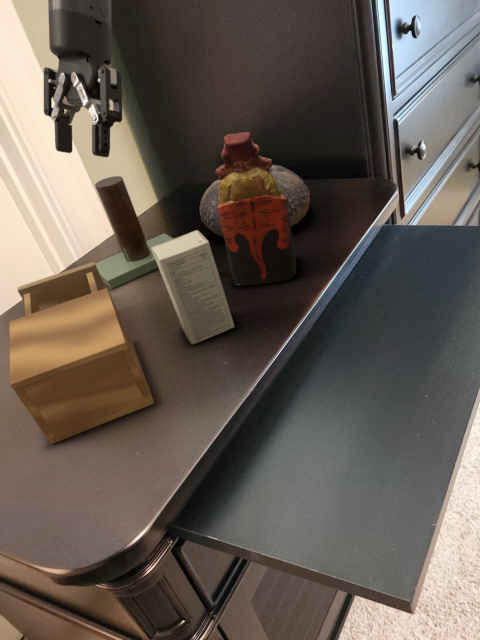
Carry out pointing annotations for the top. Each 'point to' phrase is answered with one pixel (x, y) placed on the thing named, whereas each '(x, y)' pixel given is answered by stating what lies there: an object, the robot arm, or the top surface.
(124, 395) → the cabinet
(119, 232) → the brown wooden cylinder
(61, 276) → the drawer
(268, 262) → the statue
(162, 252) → the cosmetic box
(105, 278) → the board
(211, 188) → the sea urchin shell
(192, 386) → the top surface
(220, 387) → the top surface
